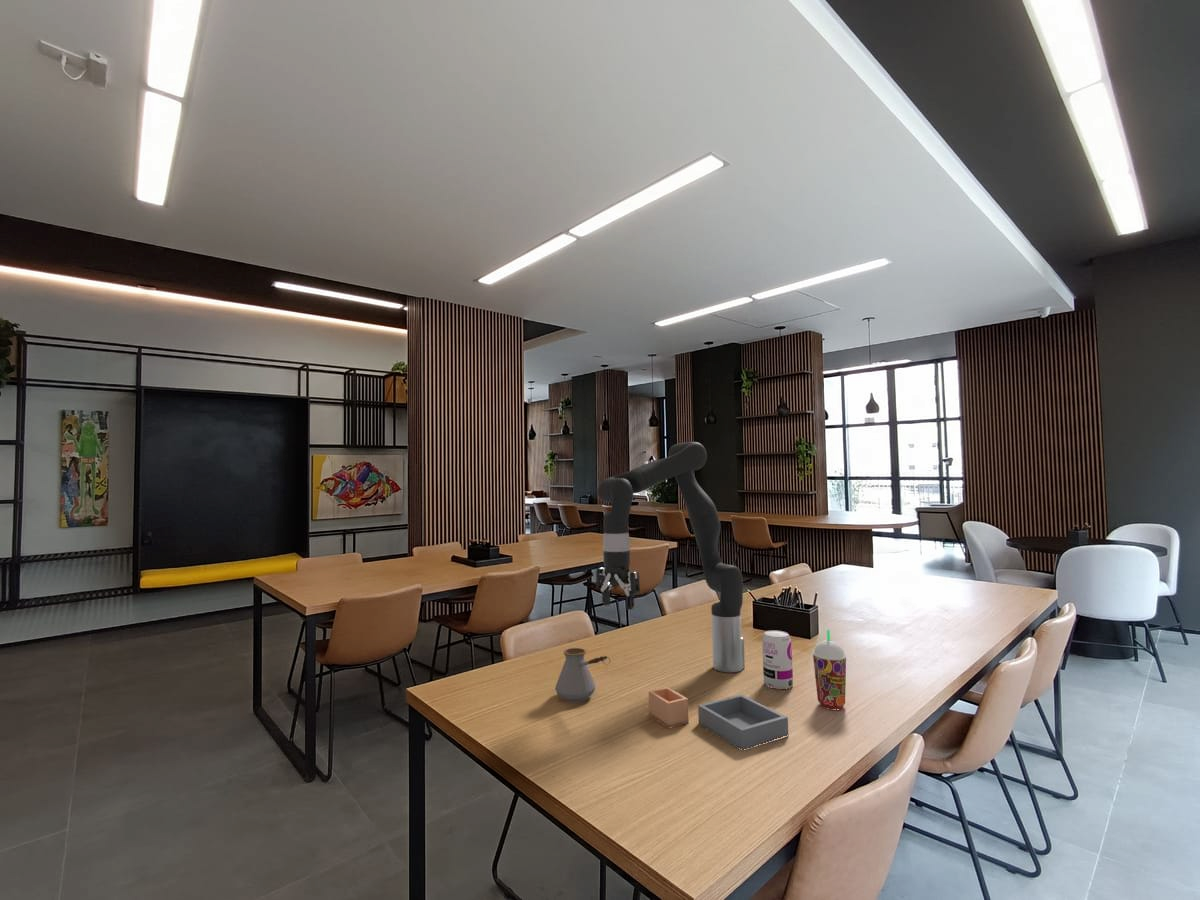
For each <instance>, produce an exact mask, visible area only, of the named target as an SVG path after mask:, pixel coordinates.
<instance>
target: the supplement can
mask: <svg viewBox="0 0 1200 900" xmlns="http://www.w3.org/2000/svg"><path fill="white" fill-rule="evenodd" d="M761 640H762V641H761V642H762V644H761V646H762V667H763V668H762V669H763V671H762V673H763V683H764V684H765V685H766V686H767V687H768V686H769V687H772V688H776V689H775V690H777V689H786V688H789V689H791V688H792V687H793V685H794V676H793V675H794V674H793V672H794V671H793V649H792V648H793V647H792V644H793V643H792V638H791V637H790V634H789V633H788V632H786V631H782V630H775V629H774V630H766V631H764V633H763V635H762V638H761ZM769 687H768V688H769ZM790 687H791V688H790ZM772 688H771V689H772ZM786 690H787V689H786Z"/></svg>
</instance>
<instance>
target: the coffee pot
mask: <svg viewBox="0 0 1200 900" xmlns="http://www.w3.org/2000/svg"><path fill="white" fill-rule="evenodd" d="M586 653H587V650H586V649H584V648H581V647H571V648H567V649H565V650H563V655H564V657H565V661H564V663H563V665H562V668H561V671H560V674H559V676H558V678H557V682H556V684H555V692H556V694H557V695H558V696H559V697H560V698H561V700H563V701H565V702H566V701H567V703H571V704H572V703H574V702H577V703H581V702H585V701H587V700H589V698H590V697H591V696H593V694H594V693H595V690H596V683H595V681H594V679H593V677H592V674H591V672H590V669H589V667H588V665H592V664H598V663H599V662H602V663H603V664H604V665H605V666H606V665H609V664H610V663H611V659H610V658H609V657H608V656H605V655H603V656H601V655H600V657H595V658H592V659H590V660H587V661H585V654H586ZM606 659H609V662H608V663H605V662H604V661H605V660H606Z"/></svg>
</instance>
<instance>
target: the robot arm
mask: <svg viewBox="0 0 1200 900" xmlns="http://www.w3.org/2000/svg"><path fill="white" fill-rule="evenodd" d="M667 453H668V454H667V455H668V456H667V457H664V458H661V459H657V460H654V461H650V462H647V463H644V464H642V465H639V466H638V467H635V468H633V469H631V470H629V471H627V472H623V473H620V474H616V475H612V476H610V477H608V478H604V480H602V481H601V482H600V483H599V485H598V488H597V495H598V497H599V499H600V500H601V501H603V502H604V503H609V504H611V507H610V511H608V512H605V514H604V516H603V540H602V544H603V545H602V546H603V550H602V551H603V552H602V553H603V567H598V568H596V581H595V582H596V583H595V585H596V586H595V587H596V590H599V591H600V592H601V595H602V596H601V597H602V601H601V602H602V604H603V606H605V607H606V606H610V604H611V591H610V589H611V588H612V586H616V587H620V588H621V589H622V590H623V591H624V593H625V595H626V596H625V609H626V610H627V611H630V610H633V609H634V607H635V595H638V594H640V593H641V589H640V588H641V585H640V574H639V571H638V570H636V571H630V568H629V567H630V565H631V547H630V546H631V543H630V542H631V541H630V534H629V516H630V513H631V508H632V502H633V497H634V494H638V493H639V494H640V493H642V492H644V491H646V490H648V489H650V488H652V487H654V486H656V485H658V484H660V483H662V482H665V481H667V480H668V479H671V478H673V477H674V478H675V481H676V483H677V485H678V488H679V490H680V493H681V497H682V500H683V502H684V505H685V509H686V513H687V516H688V519H689V522H690V526H691V528H692V532H693V534H694V538H695V541H696V545H697V548H698V551H699V552H698V553H699V556H700V560H701V566H702V570H703V571H702V572H703V575H704V579H705V582H706V585H707V586H708V588H709V589H710V590H712V591H714V592H718V593H720V594H719V595H720V597H719V601H718V602H715V603H713V604H711V607H710V608H711V609H710V610H711V612H710V613H711V641H712V667H713V669H714V670H715V671H718V672H722V673H729V674H730V673H738V672H741V671H742V670H743V669H745V668H746V666H745V659H746V658H745V639H744V637H742V623H741V621H742V619H741V609H742V607H743V594H744V592H743V591H744V590H743V589H744V581H743V580H744V579H743V574H742V571H741V570H740V569H739V567H737V565H732V564H727V563H723V561H722V558H721V556H720V552H719V546H718V545H719V538H720V534H721V528H722V527H721V520H720V517H719V513H718V510H717V507H716V505H715V503H714V502H713V500H712V499H711V497H710V496H709V495H708V494H707V493H706V492H705V491H704V490H703V488H702V487H701V486H700V484H699V483H698V481H697V479H696V477H695V474H694V472H693V471H698V470H700V469H701V468H703V467H704V466H705V464H707V463H706V462H707V460H708V454H707V450H706V448H705V447H704V445H703V444H701V443H700V442H697V441H686V442H680V443H676V444H673V445H672V446H670V448H669V450H668V452H667Z"/></svg>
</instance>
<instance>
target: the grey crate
mask: <svg viewBox="0 0 1200 900" xmlns="http://www.w3.org/2000/svg"><path fill="white" fill-rule="evenodd" d="M697 707H698V709H697V711H698V712H697V713H698V725H700V726H702V727H703V726H704V727H703V728H704V729H706V728H707V729H706V730H708V729H709V730H708V731H710V732H711V731H712V733H713V732H714V733H715V735H716V734H717V735H716V736H717V737H719V736H720V737H719V738H721V737H722V738H723V740H724V739H725V740H724V741H726V742H727V741H728V742H727V743H729V742H730V743H731V745H732V744H733V745H732V746H734V745H735V746H736V747H735V746H734V747H735V748H737V747H738V748H737V749H739V748H740V749H742V750H744V749H747V748H751V747H754V746H756V745H759V744H763V743H766V742H769V741H772V740H774V739H777V738H781V737H783V736H787V735H788V736H789V717H788V716H787V715H784V714H782V713H780V712H778V711H776V710H775V709H774V710H773V709H772V708H770V707H768V706H765V705H764V704H761V703H759V702H758V701H756V700H754V699H752V698H750V697H747V696H745V695H744V694H738V695H734V696H730V697H726V698H721V699H717V700H714V701H710V702H706V703H702V704H698V705H697ZM714 733H713V734H714ZM722 738H721V739H722ZM730 743H729V744H730ZM754 748H755V747H754ZM740 749H739V750H740ZM751 749H752V748H751ZM742 750H741V751H742Z"/></svg>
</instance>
